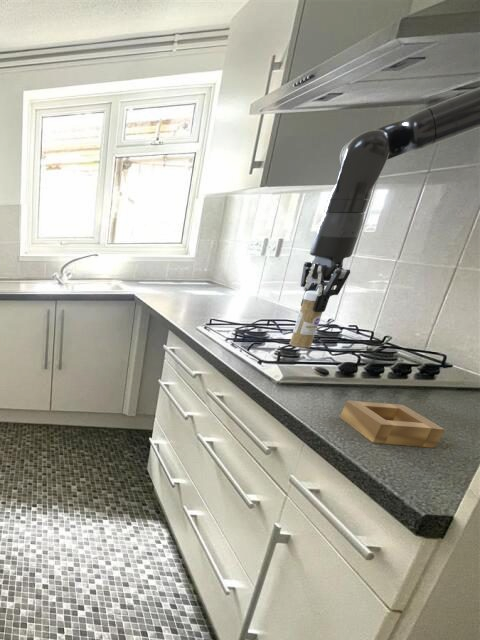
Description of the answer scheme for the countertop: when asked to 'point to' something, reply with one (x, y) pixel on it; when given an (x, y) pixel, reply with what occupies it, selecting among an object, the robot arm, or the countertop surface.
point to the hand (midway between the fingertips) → (311, 308)
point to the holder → (391, 424)
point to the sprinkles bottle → (306, 322)
